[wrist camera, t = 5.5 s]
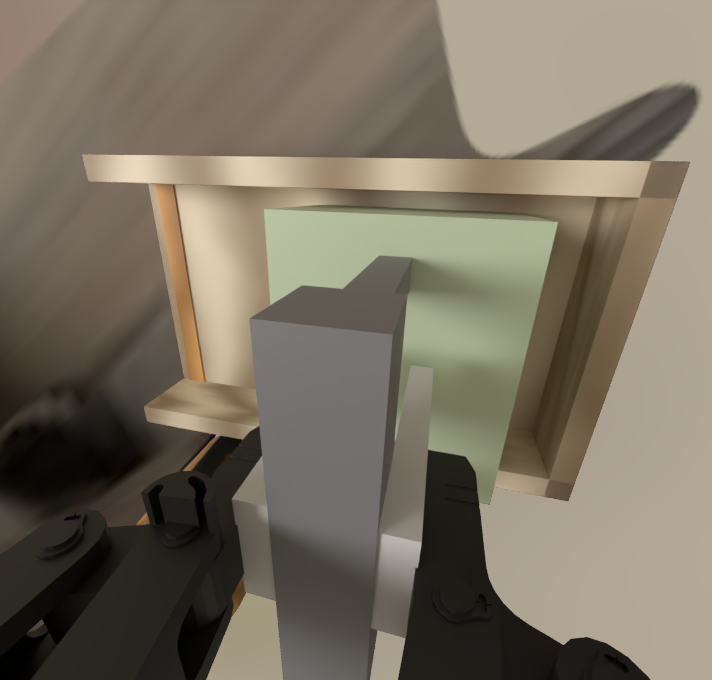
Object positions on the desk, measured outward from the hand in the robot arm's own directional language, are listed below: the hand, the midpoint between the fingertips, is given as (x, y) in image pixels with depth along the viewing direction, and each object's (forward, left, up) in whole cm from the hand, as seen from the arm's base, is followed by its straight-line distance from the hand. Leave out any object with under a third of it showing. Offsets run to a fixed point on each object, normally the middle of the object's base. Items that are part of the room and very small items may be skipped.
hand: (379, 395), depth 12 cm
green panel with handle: (0, 0, -9) cm, 9 cm away
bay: (-3, 0, -10) cm, 11 cm away
